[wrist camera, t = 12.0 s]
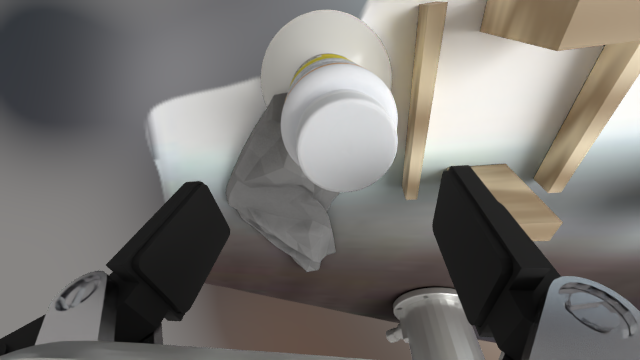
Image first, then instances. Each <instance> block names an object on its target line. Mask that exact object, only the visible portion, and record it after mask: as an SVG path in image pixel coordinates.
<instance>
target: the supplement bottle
mask: <svg viewBox="0 0 640 360" xmlns="http://www.w3.org/2000/svg"><path fill="white" fill-rule="evenodd" d="M397 125H398V114H397V108H396V104H395V101H394V98H393V96H392V94H391V92H390V90H389V89H388V87H387V86H386V85H385V83H384V82H383V81H382V80H381V79H380V78H379V77H377V76H376V75H375V74H373V73H372V72H371V71H369V70H367V69H365V68H363V67H361V66H359V65H358V64H356V63H354V62H352V61H350V60H349V59H347V58H345V57H343V56H340V55H337V54H329V53H327V54H320V55H316V56H314V57H312V58H310V59H308V60H307V61H305V62H304V63H303V64H302V65H301V66H300V67H299V68H298V70H297V71H296V73H295V75H294V76H293V79H292V81H291V84H290V87H289V90H288V93H287V96H286V99H285V103H284V106H283V109H282V115H281V134H282V139H283V142H284V145H285V148H286V150H287V152H288V153H289V155H290V156H291V158H292V159H293V160H294V162H295V163H296V164H297V165H298V166H300V167H301V169H302V171H303V173H304V174H305V175H306V176H307V178H308V179H309V180H310V181H312V182H313V183H314V184H315V185H317V186H319V187H321V188H323V189H326V190H329V191H334V192H352V191H357V190H360V189H363V188H366V187H368V186H370V185H371V184H373V183H375V182H376V181H377V180H379V179H380V178H381V177H382V176H383V175H384V174H385V173H386V172H387V171H388V169H389V168H390V166H391V164H392V163H393V161H394V158H395V156H396V152H397V146H398V138H397Z"/></svg>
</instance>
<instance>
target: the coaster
mask: <svg viewBox="0 0 640 360" xmlns="http://www.w3.org/2000/svg"><path fill="white" fill-rule="evenodd" d="M327 53H329V54H337V55H340V56H343V57H345V58H347V59H349V60H350V61H352V62H354V63H356V64H358V65H359V66H361V67H363V68H365V69H367V70H369V71H371V72H372V73H373V74H375V75H376V76H377V77H379V78H380V79H381V80H382V81H383V82H384V83H385V85H386V86H387V87H388V89H389V90H390V92H391V88H392V71H391V64H390V60H389V57H388V54H387V52H386V49H385V47H384V45H383V44H382V42H381V40H380V39H379V37H378V36H377V35H376V33H375V32H374V31H373V30H372V29H371V28H370V27H369V26H368V25H367V24H366V23H364V22H363V21H361V20H360V19H358V18H356V17H354V16H352V15H350V14H348V13H344V12H341V11H336V10H317V11H312V12H308V13H305V14H303V15H301V16H298V17H296V18H295V19H293V20H291V21H290V22H288V23H287V24H286V25H285V26H283V27H282V28H281V29H280V30H279V32H278V33H277V34H276V35H275V36H274V38H273V39H272V41H271V42H270V44H269V46H268V48H267V50H266V52H265V55H264V58H263V63H262V68H261V89H262V94H263V98H264V101H265V104H266V106H267V107H268V105H269V103H270V101H271V99H272V97H273V96H274V95H276V94H282V93H287V92H288V90H289V87H290V84H291V81H292V79H293V76H294V75H295V73H296V71H297V70H298V68H299V67H300V66H301V65H302V64H303V63H304V62H305V61H307V60H308V59H310V58H312V57H314V56H316V55H320V54H327Z"/></svg>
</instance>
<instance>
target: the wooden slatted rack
mask: <svg viewBox="0 0 640 360" xmlns="http://www.w3.org/2000/svg"><path fill="white" fill-rule="evenodd" d="M447 4H448V2H431V3H425V4H419V15H418V25H417V35H416V46H415V56H414V66H413V77H412V87H411V97H410V108H409V118H408V128H407V139H406V149H405V159H404V170H403V180H402V188H403V192H404V195H405V198H406V200H414V199H417V196H418V190H419V183H420V177H421V171H422V164H423V158H424V151H425V145H426V139H427V132H428V126H429V119H430V113H431V106H432V100H433V94H434V87H435V81H436V74H437V68H438V62H439V55H440V49H441V42H442V36H443V30H444V23H445V17H446V10H447ZM480 32H484V33H488V34H491V35H495V36H499V37H503V38H507V39H511V40H515V41H519V42H523V43H527V44H531V45H535V46H539V47H543V48H547V49H551V50H555V51H562V50H569V49H577V48H585V47H593V46H600V45H605V47H604V49H603V50H602V52H601V54H600V56H599V58H598V60H597V62H596V63H595V65H594V67H593V69H592V71H591V73H590V75H589V76H588V78H587V80H586V82H585V84H584V86H583V88H582V89H581V91H580V93H579V95H578V97H577V99H576V101H575V102H574V104H573V106H572V108H571V110H570V112H569V114H568V115H567V117H566V119H565V121H564V123H563V125H562V127H561V129H560V130H559V132H558V134H557V136H556V138H555V140H554V142H553V143H552V145H551V147H550V149H549V151H548V153H547V155H546V156H545V158H544V160H543V162H542V164H541V166H540V168H539V169H538V171H537V173H536V175H535V177H534V180H535V181H536V182H537V183H538V184H539V185H540V186H541V187H542V188H543V189H545V190H546V191H547V192H548V193H556V192H562V190H563V189H564V187H565V186H566V184H567V183H568V181H569V180H570V178H571V177H572V175H573V173H574V172H575V170H576V169H577V167H578V166H579V164H580V163H581V161H582V160H583V158H584V157H585V155H586V154H587V152H588V151H589V149H590V148H591V146H592V145H593V143H594V142H595V140H596V139H597V137H598V136H599V134H600V133H601V131H602V130H603V128H604V127H605V125H606V124H607V122H608V121H609V119H610V117H611V116H612V114H613V113H614V111H615V110H616V108H617V107H618V105H619V104H620V102H621V101H622V99H623V98H624V96H625V95H626V93H627V92H628V90H629V89H630V87H631V86H632V84H633V83H634V81H635V80H636V78H637V77H638V75H639V74H640V0H487V4H486V8H485V12H484V16H483V20H482V25H481V29H480ZM470 167H471V168H472V169H473V171H474V172H475V173H476V174H477V176H478V177H479V178H480V179H481V181H482V182H483V183H484V184H485V186H486V187H487V188H488V189H489V191H490V192H491V193H492V194H493V196H494V197H495V198H496V200H497V201H498V202H500V203H501V204H502V205H504V206H505V208H506V209H507V210H508V211H509V213H510V214H511V215H512V216H513V218H514V219H515V220H516V221H517V223H518V224H519V225H520V226H521V227H522V229H523V230H524V231H525V232H526V234H527V235H528V236H529V237H530V239H531V240H532V241H549V240H550V239H551V238H552V236H553V235H554V234H555V232H556V231H557V230H558V228H559V227H560V226H561V224H562V223H563V222H562V221H561V220H560V219H559V218H558V217H557V216H556V215H555V214H554V213H553V212H552V211H551V210H550V209H549V208H548V207H547V206H546V205H545V204H544V203H543V201H542V200H541V199H540V198H539V197H538V196H537V195H536V194H535V193H534V192H533V191H532V190H531V189H530V188H529V187H528V186H527V185H526V184H525V183H524V182H523V181H522V180H521V179H520V178H519V177H518V176H517V175H516V174H515V173H514V172H513V171H512V170H511V169H510V168H509V167H508V166H507V165H506V164H497V165H482V166H470ZM448 169H449V168H447V171H448Z"/></svg>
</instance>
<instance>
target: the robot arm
mask: <svg viewBox="0 0 640 360" xmlns="http://www.w3.org/2000/svg"><path fill="white" fill-rule="evenodd" d="M433 232H434V235H435V238H436V240H437V243H438V246H439V248H440V251H441V253H442V256H443V258H444V261H445V264H446V266H447V269H448V271H449V274H450V277H451V279H452V282H453V284H454V287H455V289H451V288H442V287H433V288H423V289H418V290H414V291H410V292H408V293H405V294H403V295H402V296H400V297H399V298H397V299H396V300H395V302H394V303H393V311H394V315H395V316H396V317H397V318H398V319H399V320H400V324H398V327H397V328H393V329H390V330H388V331H387V332H386V337H387V339H388V341H389V342H391V343H393V342H396V341H399V340H400V339H403V340H404V342H406V343H408V342H409V345H410V350H411V356H412V360H485V358H484V355H483V353H482V350H481V348H480V345H479V343H478V340H477V337H476V335H475V332H474V330H473V327H472V325H475V326H476V329H477V331H478V334H479V336H480V337H494V339H495V341H496V343H497V345H498V348H499V349H500V350H501V351H502V352H501V355H500V357H499V360H640V312H639V311H638V310H637V309H636V308H635V307H634V306H633V305H632V304H631V303H630V302H629V301H628V300H626V299H625V298H623V297H622V296H620V295H619V294H617V293H616V292H615V291H613V290H611V289H609V288H607V287H605V286H603V285H601V284H599V283H597V282H594V281H591V280H588V279H585V278H580V277H574V276H565V277H561V276H560V275H559V273H558V272H557V271H556V270H555V268H554V267H553V266H552V265H551V263H550V262H549V261H548V260H547V258H546V257H545V256H544V255H543V254H542V252H541V251H540V250H539V249H538V247H537V246H536V245H535V244H534V242H533V241H532V240H531V239H530V237H529V236H528V235H527V234H526V232H525V231H524V230H523V229H522V227H521V226H520V225H519V224H518V223H517V221H516V220H515V219H514V218H513V216H512V215H511V214H510V213H509V211H508V210H507V209H506V208H505V206H504V205H502V204H501V203H500V202H498V201H497V200H496V198H495V197H494V196H493V194H492V193H491V192H490V191H489V189H488V188H487V187H486V186H485V184H484V183H483V182H482V181H481V179H480V178H479V177H478V176H477V174H476V173H475V172H474V171H473V169H472V168H471V167H470V166H468V165H466V166H451V167H449V169H448V171H444V172H443V174H442V179H441V184H440V189H439V194H438V199H437V204H436V209H435V214H434V219H433ZM229 235H230V228H229V226H228V224H227V222H226V220H225V218H224V217H223V215H222V213H221V211H220V209H219V207H218V205H217V203H216V201H215V199H214V198H213V196H212V194H211V192H210V190H209V188H208V186H207V185H205V184H204V183H203V182H200V181H196V182H186V183H185V184H183V185H182V186H181V188H180V189H179V190H178V191H177V192H176V193H175V194H174V195H173V196H172V197H171V198H170V199H169V200H168V201H167V202H166V203H165V204H164V205H163V206H162V207H161V208H160V209H159V210H158V211H157V212H156V213H155V214H154V216H153V217H152V218H151V219H150V220H149V221H148V222H147V223H146V224H145V225H144V226H143V227H142V228H141V229H140V230H139V231H138V232H137V233H136V234H135V235H134V236H133V237H132V238H131V239H130V240H129V242H128V243H127V244H126V245H125V246H124V247H123V248H122V249H121V250H120V251H119V252H118V253H117V254H116V255H115V256H114V257H113V258H112V259H111V260H110V261H109V262H108V263H107V264H106V266H107V267H108V268H110V269H111V270H112V271H113V272H112V273H111V274H110V275H107V274H106V273H105V272H104V271H94V272H90V273H87V274H85V275H83V276H81V277H79V278H77V279H75V280H74V281H72V282H71V283H69V284H68V285H67V286H65V288H63V289H62V290H61V291H60V292H59V293H58V294H57V295H56V296H55V297H54V299H53V300H52V302H51V303H50V305H49V307H48V310H47V313H46V314H45V315H43V316H42V317H40V318H38V319H36V320H34V321H32V322H31V323H29V324H27V325H25V326H23V327H22V328H20V329H18V330H16V331H14V332H12V333H11V334H9V335H7V336H5V337H3V338H1V339H0V360H371V359H358V358H357V359H356V358H344V357H331V356H318V355H305V354H291V353H277V352H262V351H247V350H233V349H219V348H206V347H191V346H176V345H163V338H162V324H161V322H162V320H163V318H166V319H167V320H168V321H181V320H182V318H183V316H184V314H185V313H186V312H187V311H188V310H189V309H190V308H191V306H192V304H193V303H194V301H195V299H196V297H197V295H198V293H199V291H200V290H201V288H202V286H203V284H204V282H205V280H206V278H207V276H208V275H209V273H210V271H211V269H212V267H213V265H214V263H215V262H216V260H217V258H218V256H219V254H220V252H221V250H222V248H223V247H224V245H225V243H226V241H227V239H228V237H229Z"/></svg>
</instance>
